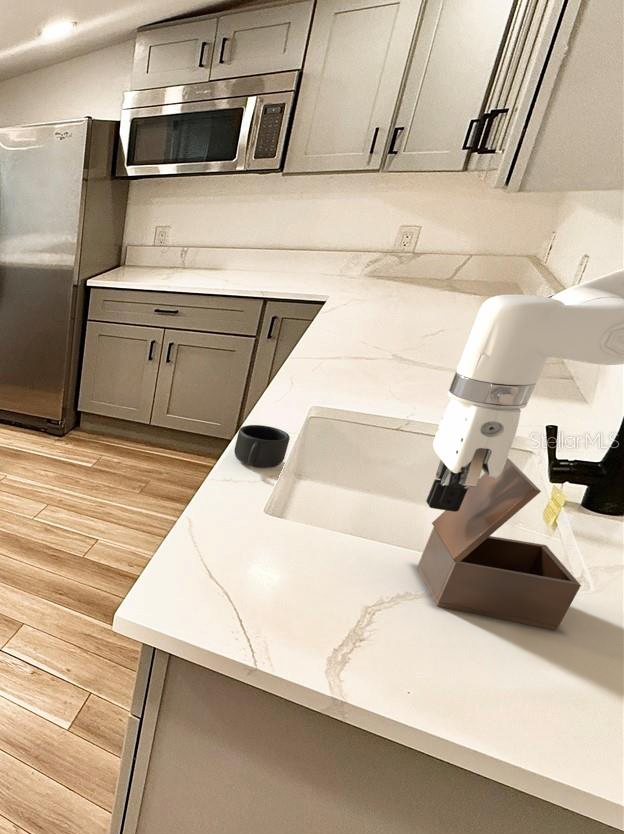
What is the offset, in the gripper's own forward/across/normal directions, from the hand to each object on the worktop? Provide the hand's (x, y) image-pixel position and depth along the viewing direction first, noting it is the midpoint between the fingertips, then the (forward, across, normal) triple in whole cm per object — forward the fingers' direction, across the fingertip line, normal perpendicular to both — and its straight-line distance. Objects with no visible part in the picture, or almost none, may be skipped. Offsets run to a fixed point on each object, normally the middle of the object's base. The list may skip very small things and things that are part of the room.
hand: (441, 507), depth 89 cm
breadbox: (+14, 0, -8) cm, 16 cm away
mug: (+14, +37, +18) cm, 43 cm away
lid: (-1, 0, -4) cm, 4 cm away
